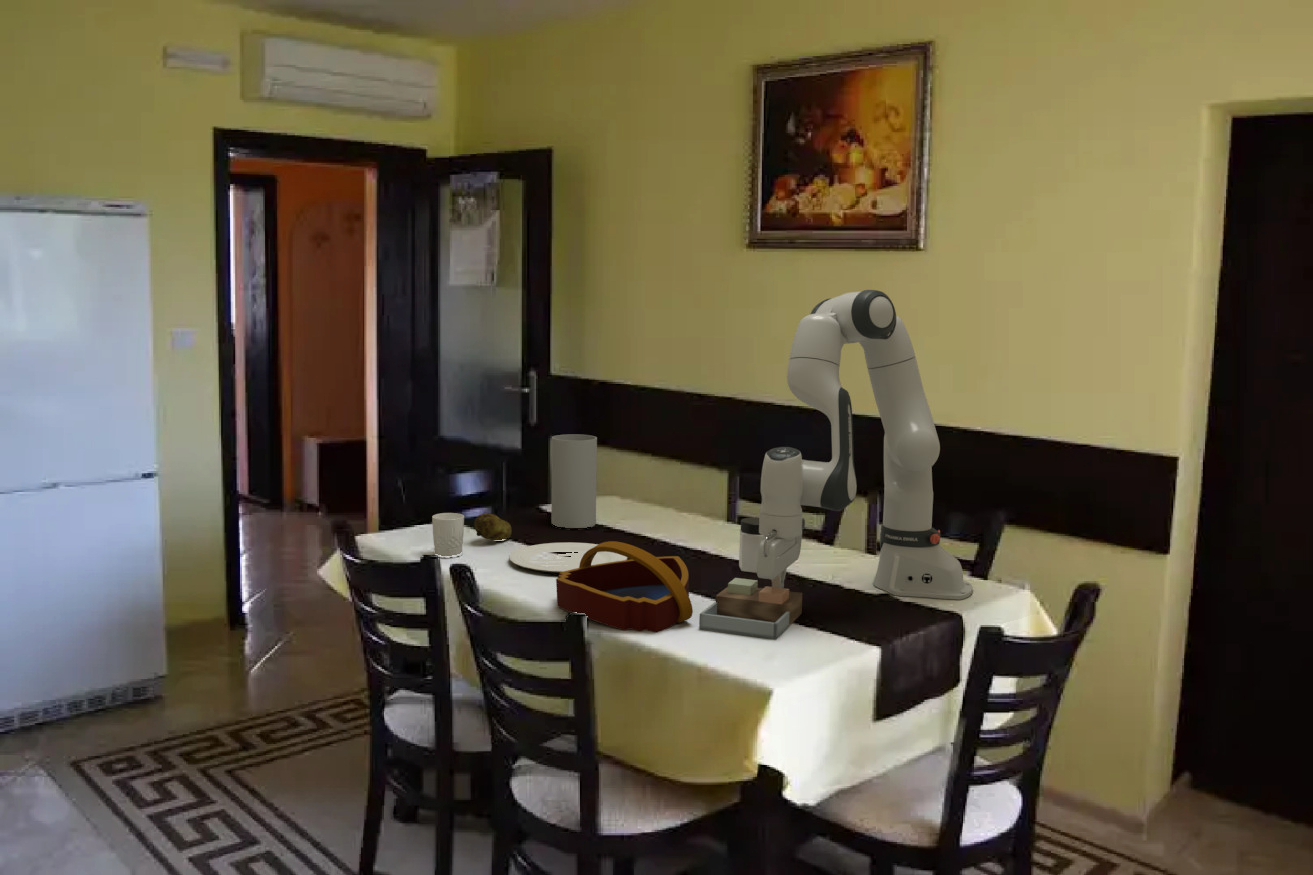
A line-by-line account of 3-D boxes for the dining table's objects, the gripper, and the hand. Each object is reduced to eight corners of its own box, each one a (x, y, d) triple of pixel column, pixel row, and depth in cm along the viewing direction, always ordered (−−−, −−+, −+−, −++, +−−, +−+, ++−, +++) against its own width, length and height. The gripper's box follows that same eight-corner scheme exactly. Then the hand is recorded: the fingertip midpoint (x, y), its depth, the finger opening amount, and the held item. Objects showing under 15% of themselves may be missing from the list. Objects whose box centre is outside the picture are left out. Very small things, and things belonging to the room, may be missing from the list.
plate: (651, 564, 293) (652, 556, 293) (564, 585, 272) (564, 577, 272) (571, 543, 313) (571, 536, 313) (484, 562, 292) (484, 554, 291)
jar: (751, 575, 283) (753, 525, 282) (731, 567, 290) (732, 519, 288) (781, 570, 288) (782, 522, 286) (760, 563, 295) (761, 515, 293)
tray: (788, 626, 243) (789, 611, 242) (776, 639, 234) (776, 624, 234) (714, 616, 249) (714, 602, 248) (699, 629, 240) (699, 613, 240)
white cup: (426, 556, 295) (425, 517, 293) (443, 550, 302) (443, 511, 301) (453, 560, 292) (453, 520, 290) (470, 553, 299) (470, 514, 298)
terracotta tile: (788, 598, 248) (789, 588, 247) (782, 604, 243) (782, 594, 243) (765, 595, 249) (766, 586, 249) (758, 601, 245) (759, 591, 244)
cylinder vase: (599, 529, 329) (600, 440, 325) (554, 530, 326) (555, 441, 323) (592, 520, 341) (592, 434, 337) (548, 521, 338) (549, 434, 335)
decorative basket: (533, 611, 259) (525, 546, 255) (638, 572, 276) (632, 511, 272) (625, 654, 233) (618, 583, 229) (735, 609, 250) (730, 542, 246)
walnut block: (801, 613, 252) (802, 593, 252) (788, 626, 243) (789, 605, 243) (730, 604, 258) (730, 584, 258) (715, 616, 249) (715, 595, 248)
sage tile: (757, 589, 254) (757, 580, 254) (750, 595, 249) (750, 586, 249) (735, 586, 256) (735, 577, 255) (727, 592, 251) (728, 583, 251)
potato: (523, 540, 314) (523, 510, 313) (485, 548, 305) (485, 517, 304) (503, 535, 320) (503, 506, 319) (465, 542, 311) (465, 512, 310)
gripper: (780, 537, 237) (777, 604, 239) (807, 518, 256) (804, 580, 258) (750, 533, 239) (748, 600, 241) (779, 515, 258) (776, 576, 260)
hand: (777, 589), depth 250 cm, fingers closed
